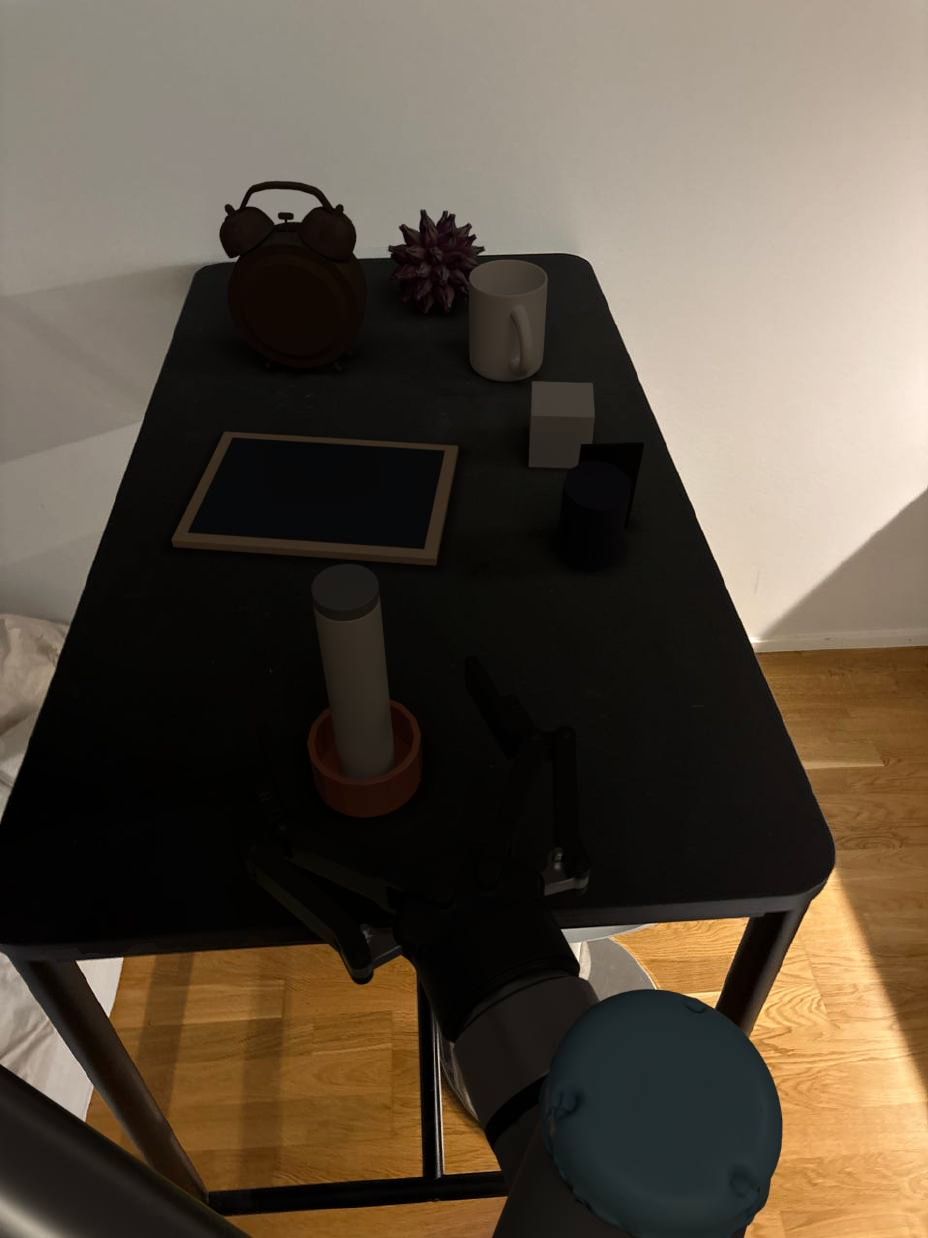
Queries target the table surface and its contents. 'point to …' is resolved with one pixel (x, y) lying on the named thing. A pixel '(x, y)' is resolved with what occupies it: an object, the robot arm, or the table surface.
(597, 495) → the speaker
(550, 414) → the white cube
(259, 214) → the alarm clock
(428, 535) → the picture frame
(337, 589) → the grey-capped cream cylinder
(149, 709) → the table surface
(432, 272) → the flower
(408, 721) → the bowl
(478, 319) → the mug
